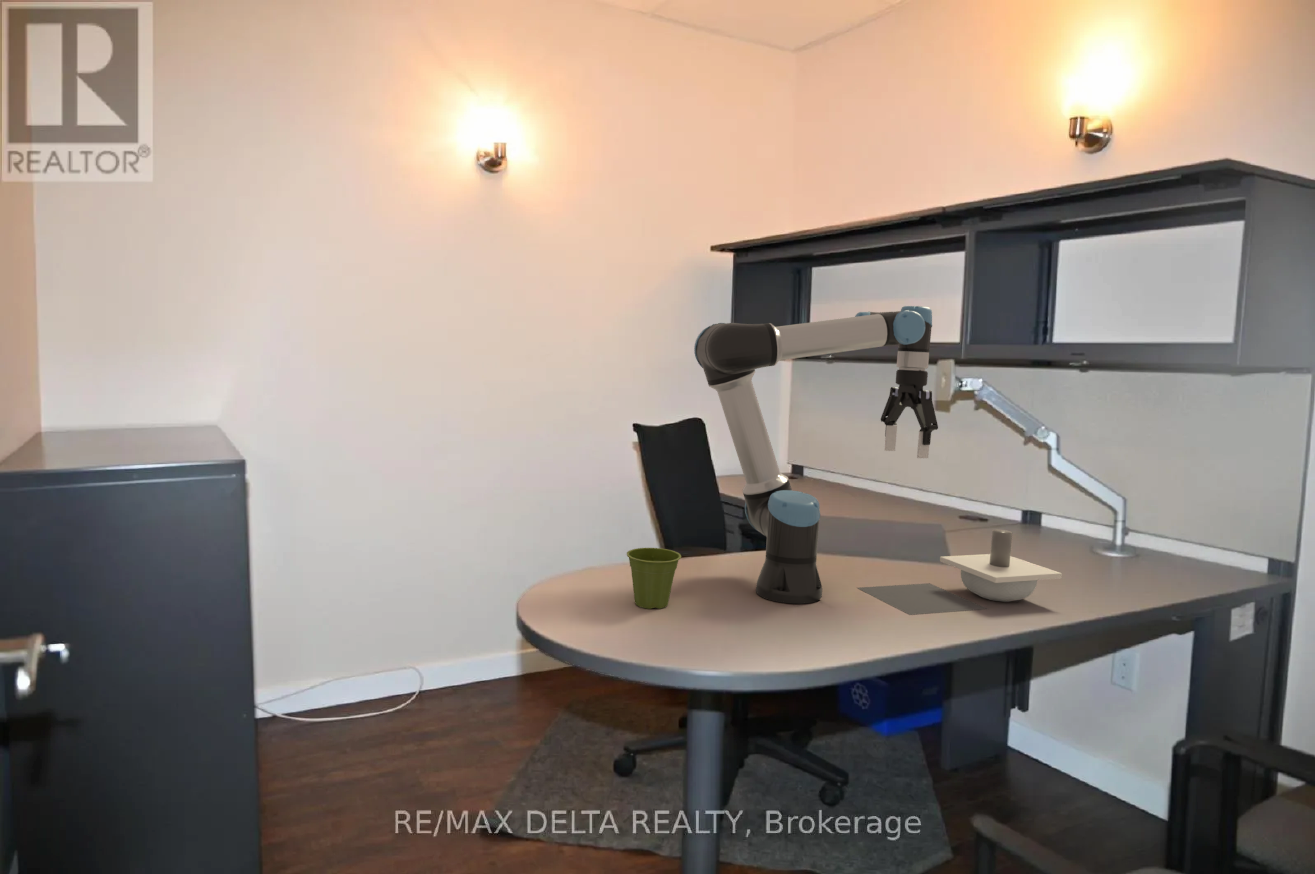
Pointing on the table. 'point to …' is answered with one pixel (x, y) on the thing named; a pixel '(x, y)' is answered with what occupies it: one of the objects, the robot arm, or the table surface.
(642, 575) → the plant pot
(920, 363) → the robot arm
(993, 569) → the lid
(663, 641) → the table surface
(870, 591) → the mat
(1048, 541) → the table surface
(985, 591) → the cereal bowl
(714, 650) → the table surface
